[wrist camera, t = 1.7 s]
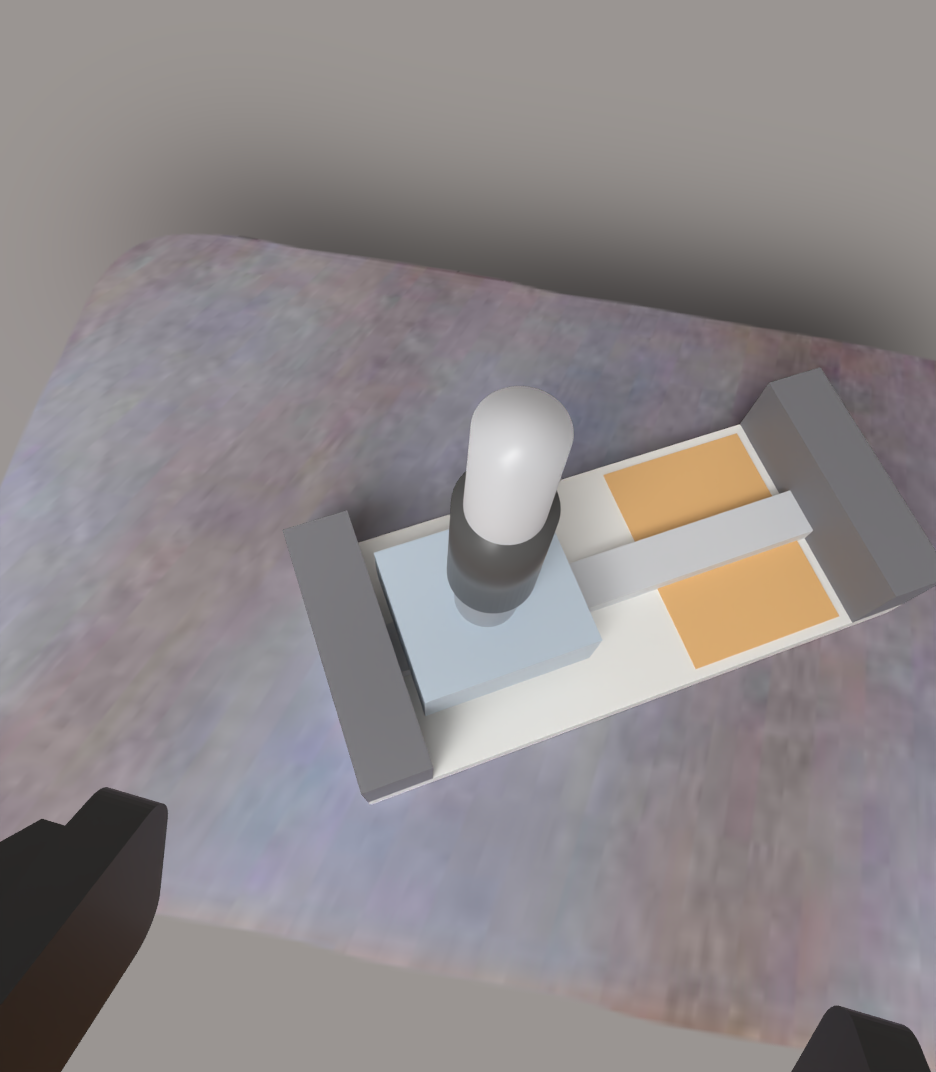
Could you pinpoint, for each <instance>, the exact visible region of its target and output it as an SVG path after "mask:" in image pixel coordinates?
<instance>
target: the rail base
mask: <svg viewBox="0 0 936 1072" xmlns="http://www.w3.org/2000/svg"><path fill="white" fill-rule="evenodd" d="M557 492H558V495H559V499H560V505H561V513H560V519H559V523H558V525H557V528H556V531H555V533H556V535H557V538H558V540H559V542H560V544H561V547H562V549H563V551H564V554H565V556H566V558H567V560H568V563H569V565H570V567H571V569H572V572H573V574H574V576H575V579H576V581H577V583H578V585H579V588H580V590H581V592H582V595H583V597H584V599H585V601H586V604H587V606H588V608H589V611H590V613H591V615H592V617H593V620H594V622H595V624H596V627H597V629H598V631H599V633H600V636H601V638H602V642H601V643H600V644H599V646H598V647H597V648H596V650H595V651H594V652H593V654H592V655H591V656H590V658H587V659H585V660H582V661H579V662H576V663H573V664H571V665H568V666H565V667H562V668H559V669H557V670H554V671H551V672H548V673H545V674H542V675H540V676H537V677H534V678H531V679H528V680H526V681H523V682H520V683H517V684H514V685H512V686H509V687H506V688H503V689H500V690H498V691H495V692H492V693H489V694H486V695H484V696H481V697H478V698H475V699H472V700H469V701H467V702H464V703H461V704H458V705H455V706H453V707H450V708H447V709H444V710H441V711H439V712H436V713H433V714H430V715H427V716H425V714H424V711H423V708H422V705H421V702H420V699H419V696H418V694H417V691H416V688H415V685H414V682H413V679H412V676H411V673H410V670H409V667H408V664H407V661H406V658H405V655H404V652H403V649H402V646H401V643H400V640H399V638H398V635H397V632H396V629H395V626H394V623H393V620H392V617H391V614H390V611H389V608H388V605H387V602H386V599H385V596H384V593H383V590H382V587H381V584H380V582H379V579H378V575H377V569H376V563H375V557H374V553H375V552H378V551H381V550H384V549H388V548H391V547H394V546H397V545H400V544H404V543H407V542H410V541H413V540H416V539H419V538H423V537H426V536H429V535H432V534H435V533H439V532H442V531H445V530H448V529H449V524H450V514H449V515H446V516H443V517H440V518H436V519H433V520H430V521H427V522H423V523H420V524H417V525H414V526H411V527H407V528H404V529H401V530H398V531H394V532H391V533H388V534H385V535H382V536H378V537H375V538H372V539H369V540H365V541H362V542H359V543H358V541H357V538H356V535H355V532H354V529H353V526H352V523H351V520H350V517H349V514H348V511H347V510H346V511H343V512H340V513H336V514H333V515H330V516H327V517H323V518H320V519H317V520H313V521H310V522H307V523H303V524H300V525H297V526H293V527H290V528H287V529H284V530H283V533H284V537H285V540H286V543H287V547H288V550H289V553H290V557H291V560H292V564H293V567H294V570H295V574H296V577H297V580H298V584H299V587H300V590H301V594H302V597H303V600H304V604H305V607H306V610H307V614H308V617H309V621H310V624H311V627H312V631H313V634H314V637H315V641H316V644H317V647H318V651H319V654H320V657H321V661H322V664H323V667H324V671H325V674H326V678H327V681H328V684H329V688H330V691H331V694H332V698H333V701H334V704H335V708H336V711H337V714H338V718H339V721H340V724H341V728H342V731H343V735H344V738H345V741H346V745H347V748H348V751H349V755H350V758H351V761H352V765H353V768H354V771H355V775H356V778H357V781H358V785H359V788H360V792H361V795H362V796H363V797H364V798H365V799H366V800H367V801H368V803H369V804H370V805H372V804H375V803H377V802H380V801H383V800H385V799H388V798H391V797H393V796H396V795H399V794H401V793H404V792H407V791H410V790H412V789H415V788H418V787H420V786H423V785H426V784H428V783H431V782H434V781H436V780H439V779H442V778H444V777H447V776H450V775H453V774H455V773H458V772H461V771H463V770H466V769H469V768H471V767H474V766H477V765H479V764H482V763H485V762H487V761H490V760H493V759H496V758H498V757H501V756H504V755H506V754H509V753H512V752H514V751H517V750H520V749H522V748H525V747H528V746H530V745H533V744H536V743H538V742H541V741H544V740H547V739H549V738H552V737H555V736H557V735H560V734H563V733H565V732H568V731H571V730H573V729H576V728H579V727H581V726H584V725H587V724H590V723H592V722H595V721H598V720H600V719H603V718H606V717H608V716H611V715H614V714H616V713H619V712H622V711H624V710H627V709H630V708H633V707H635V706H638V705H641V704H643V703H646V702H649V701H651V700H654V699H657V698H659V697H662V696H665V695H667V694H670V693H673V692H675V691H678V690H681V689H684V688H686V687H689V686H692V685H694V684H697V683H700V682H702V681H705V680H708V679H710V678H713V677H716V676H718V675H721V674H724V673H727V672H729V671H732V670H735V669H737V668H740V667H743V666H745V665H748V664H751V663H753V662H756V661H759V660H761V659H764V658H767V657H769V656H772V655H775V654H778V653H780V652H783V651H786V650H788V649H791V648H794V647H796V646H799V645H802V644H804V643H807V642H810V641H812V640H815V639H818V638H821V637H823V636H826V635H829V634H831V633H834V632H837V631H839V630H842V629H845V628H847V627H850V626H853V625H855V624H858V623H861V622H864V621H866V620H869V619H872V618H874V617H877V616H880V615H882V614H885V613H887V612H889V611H891V610H893V609H895V608H896V607H898V606H900V605H902V604H904V603H905V602H907V601H909V600H911V599H912V598H914V597H916V596H918V595H920V594H921V593H923V592H925V591H927V590H928V589H930V588H932V587H934V586H936V551H935V549H934V547H933V546H932V544H931V543H930V541H929V539H928V538H927V536H926V535H925V533H924V531H923V530H922V528H921V527H920V525H919V523H918V522H917V520H916V519H915V517H914V516H913V514H912V512H911V511H910V509H909V508H908V506H907V504H906V503H905V501H904V500H903V498H902V496H901V495H900V493H899V492H898V490H897V488H896V487H895V485H894V484H893V482H892V481H891V479H890V477H889V476H888V474H887V473H886V471H885V469H884V468H883V466H882V465H881V463H880V461H879V460H878V458H877V457H876V455H875V453H874V452H873V450H872V449H871V447H870V446H869V444H868V442H867V441H866V439H865V438H864V436H863V434H862V433H861V431H860V430H859V428H858V426H857V425H856V423H855V422H854V420H853V418H852V417H851V415H850V414H849V412H848V411H847V409H846V407H845V406H844V404H843V403H842V401H841V399H840V398H839V396H838V395H837V393H836V391H835V390H834V388H833V387H832V385H831V383H830V382H829V380H828V379H827V377H826V375H825V374H824V372H823V371H822V369H821V368H816V369H813V370H810V371H806V372H803V373H800V374H796V375H793V376H790V377H786V378H783V379H780V380H776V381H773V382H770V383H769V384H768V385H767V386H766V388H765V389H764V391H763V392H762V394H761V395H760V396H759V398H758V399H757V401H756V402H755V404H754V405H753V406H752V408H751V409H750V411H749V412H748V414H747V415H746V416H745V418H744V419H743V421H742V422H741V424H739V425H736V426H733V427H729V428H726V429H723V430H720V431H716V432H713V433H710V434H707V435H704V436H700V437H697V438H694V439H691V440H687V441H684V442H681V443H678V444H675V445H671V446H668V447H665V448H662V449H658V450H655V451H652V452H649V453H646V454H642V455H639V456H636V457H633V458H630V459H626V460H623V461H620V462H617V463H613V464H610V465H607V466H604V467H601V468H597V469H594V470H591V471H588V472H584V473H581V474H578V475H575V476H572V477H568V478H565V479H562V480H560V482H559V485H558V488H557Z"/></svg>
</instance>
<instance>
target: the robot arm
mask: <svg viewBox="0 0 936 1072" xmlns="http://www.w3.org/2000/svg"><path fill="white" fill-rule="evenodd" d="M167 819H168V810H167V807H166V805H165V804H162V803H159V802H155V801H152V800H149V799H145V798H142V797H139V796H135V795H132V794H128V793H125V792H122V791H118V790H115V789H111V788H108V787H105V788H102V789H100V790H98V791H97V792H96V793H95V794H94V795H93V796H92V797H91V798H90V799H89V800H88V801H87V802H86V803H85V804H84V805H83V807H82V808H81V809H80V810H79V811H78V812H77V813H76V814H75V815H74V817H73V818H72V819H71V820H70V821H69V822H68V823H67V824H66V825H65V826H64V825H61V824H58V823H54V822H51V821H48V820H44V819H41V820H39V821H37V822H35V823H33V824H32V825H30V826H28V827H26V828H24V829H23V830H21V831H19V832H17V833H15V834H14V835H12V836H10V837H8V838H6V839H5V840H3V841H1V842H0V1072H61V1071H62V1069H63V1068H64V1066H65V1064H66V1063H67V1062H68V1060H69V1058H70V1057H71V1055H72V1054H73V1052H74V1051H75V1049H76V1048H77V1046H78V1044H79V1043H80V1041H81V1040H82V1038H83V1036H84V1035H85V1033H86V1032H87V1030H88V1029H89V1027H90V1026H91V1024H92V1022H93V1021H94V1019H95V1018H96V1016H97V1015H98V1013H99V1012H100V1010H101V1008H102V1007H103V1005H104V1004H105V1002H106V1001H107V999H108V998H109V996H110V994H111V993H112V991H113V990H114V988H115V986H116V985H117V983H118V982H119V980H120V979H121V977H122V976H123V974H124V973H125V971H126V969H127V968H128V966H129V965H130V963H131V962H132V960H133V958H134V957H135V955H136V954H137V952H138V950H139V949H140V947H141V945H142V943H143V941H144V939H145V937H146V935H147V933H148V931H149V928H150V926H151V924H152V921H153V918H154V915H155V912H156V909H157V906H158V901H159V896H160V888H161V878H162V868H163V859H164V849H165V839H166V829H167ZM792 1072H931V1071H930V1069H929V1066H928V1064H927V1061H926V1059H925V1056H924V1054H923V1051H922V1049H921V1046H920V1044H919V1042H918V1040H917V1038H916V1037H915V1035H914V1034H913V1032H912V1031H911V1030H910V1029H909V1028H908V1027H906V1026H905V1025H902V1024H899V1023H895V1022H892V1021H888V1020H885V1019H882V1018H878V1017H875V1016H872V1015H868V1014H865V1013H861V1012H858V1011H855V1010H851V1009H848V1008H844V1007H841V1006H833V1007H831V1008H830V1009H829V1010H828V1011H827V1012H826V1013H825V1015H824V1016H823V1018H822V1020H821V1021H820V1023H819V1025H818V1027H817V1028H816V1030H815V1032H814V1033H813V1035H812V1037H811V1039H810V1040H809V1042H808V1044H807V1046H806V1047H805V1049H804V1051H803V1053H802V1054H801V1056H800V1058H799V1060H798V1061H797V1063H796V1065H795V1066H794V1068H793V1070H792Z"/></svg>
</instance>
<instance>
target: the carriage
mask: <svg viewBox="0 0 936 1072" xmlns="http://www.w3.org/2000/svg"><path fill="white" fill-rule="evenodd" d="M573 437H574V430H573V424H572V420H571V418H570V416H569V414H568V412H567V410H566V409H565V408H564V406H563V405H562V404H561V403H560V402H559V401H558V400H557V399H556V398H554V397H553V396H551V395H550V394H548V393H546V392H544V391H542V390H539V389H536V388H532V387H526V386H513V387H507V388H503V389H500V390H497V391H495V392H493V393H491V394H490V395H488V396H487V397H486V398H485V399H484V400H482V402H481V403H480V404H479V405H478V407H477V408H476V410H475V412H474V414H473V417H472V420H471V428H470V438H469V448H468V459H467V469H466V472H464V473H463V475H462V476H461V477H460V478H459V480H458V481H457V483H456V485H455V487H454V490H453V493H452V498H451V508H450V524H449V529H448V530H445V531H442V532H439V533H435V534H432V535H429V536H426V537H423V538H419V539H416V540H413V541H410V542H407V543H404V544H400V545H397V546H394V547H391V548H388V549H384V550H381V551H378V552H375V553H374V557H375V563H376V569H377V575H378V579H379V582H380V584H381V587H382V590H383V593H384V596H385V599H386V602H387V605H388V608H389V611H390V614H391V617H392V620H393V623H394V626H395V629H396V632H397V635H398V638H399V640H400V643H401V646H402V649H403V652H404V655H405V658H406V661H407V664H408V667H409V670H410V673H411V676H412V679H413V682H414V685H415V688H416V691H417V694H418V696H419V699H420V702H421V705H422V708H423V711H424V714H425V716H427V715H430V714H433V713H436V712H439V711H441V710H444V709H447V708H450V707H453V706H455V705H458V704H461V703H464V702H467V701H469V700H472V699H475V698H478V697H481V696H484V695H486V694H489V693H492V692H495V691H498V690H500V689H503V688H506V687H509V686H512V685H514V684H517V683H520V682H523V681H526V680H528V679H531V678H534V677H537V676H540V675H542V674H545V673H548V672H551V671H554V670H557V669H559V668H562V667H565V666H568V665H571V664H573V663H576V662H579V661H582V660H585V659H587V658H590V656H591V655H592V654H593V652H594V651H595V650H596V648H597V647H598V646H599V644H600V643H601V642H602V638H601V636H600V633H599V631H598V629H597V627H596V624H595V622H594V620H593V617H592V615H591V613H590V611H589V608H588V606H587V604H586V601H585V599H584V597H583V595H582V592H581V590H580V588H579V585H578V583H577V581H576V579H575V576H574V574H573V572H572V569H571V567H570V565H569V563H568V560H567V558H566V556H565V554H564V551H563V549H562V547H561V544H560V542H559V540H558V538H557V535H556V533H555V531H556V528H557V525H558V523H559V519H560V513H561V505H560V499H559V495H558V492H557V488H558V485H559V482H560V479H561V476H562V473H563V470H564V467H565V464H566V461H567V458H568V455H569V452H570V449H571V446H572V443H573Z"/></svg>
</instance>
